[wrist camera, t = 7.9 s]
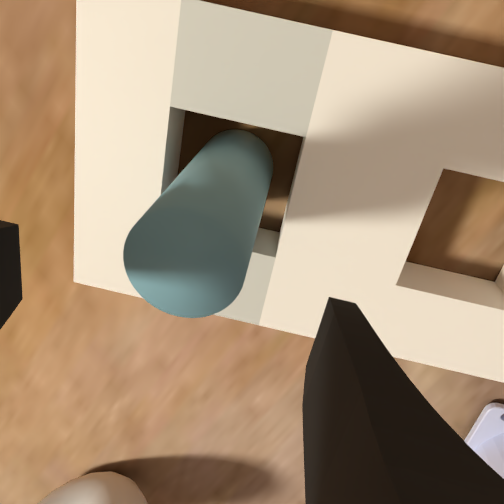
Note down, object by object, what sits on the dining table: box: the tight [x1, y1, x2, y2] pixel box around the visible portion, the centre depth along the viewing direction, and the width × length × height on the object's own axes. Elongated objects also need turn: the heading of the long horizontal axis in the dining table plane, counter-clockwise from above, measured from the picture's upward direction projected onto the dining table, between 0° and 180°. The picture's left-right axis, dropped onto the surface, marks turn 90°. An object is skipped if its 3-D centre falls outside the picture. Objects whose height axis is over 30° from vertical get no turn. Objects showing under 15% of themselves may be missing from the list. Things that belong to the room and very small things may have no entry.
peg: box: [123, 129, 273, 318], centre depth 16 cm, size 3×3×9 cm
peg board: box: [74, 0, 504, 383], centre depth 18 cm, size 22×12×2 cm, turn 79°
